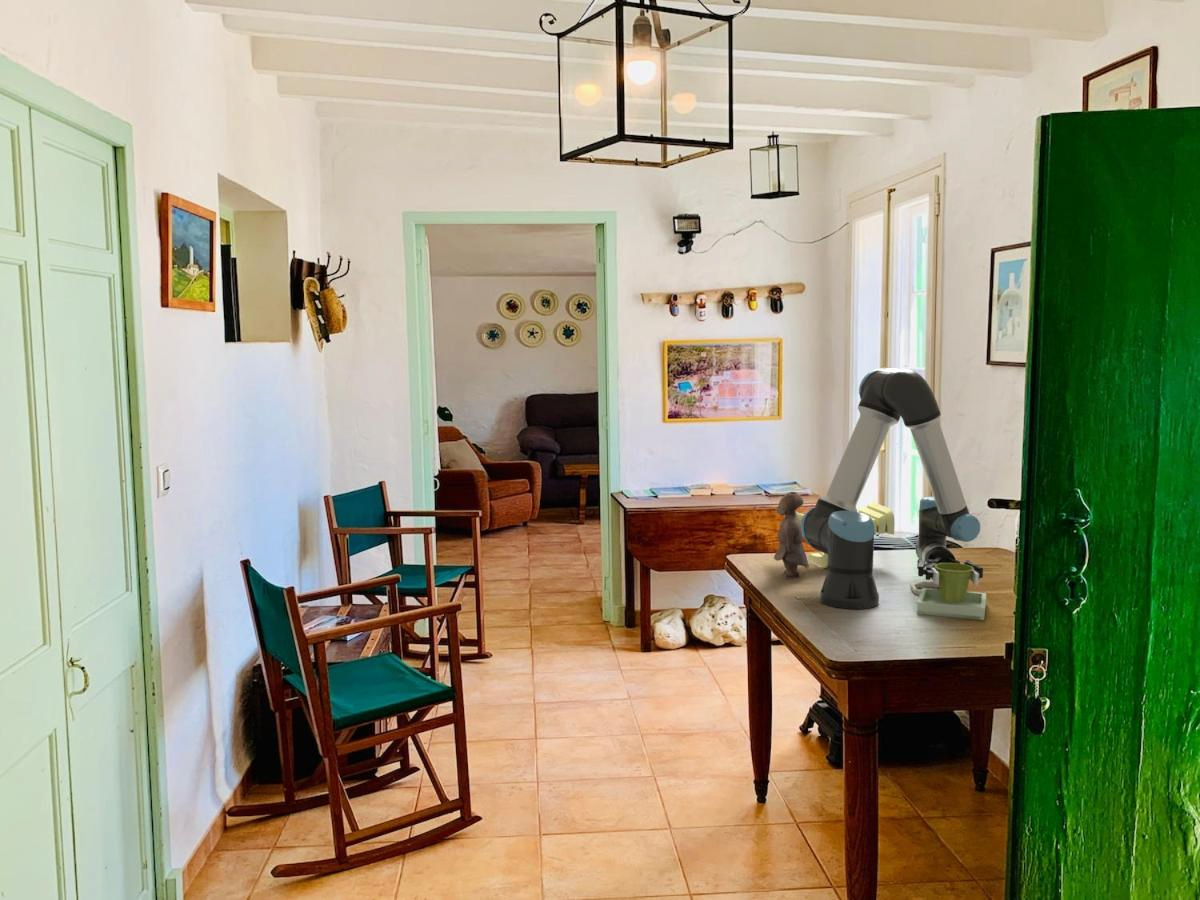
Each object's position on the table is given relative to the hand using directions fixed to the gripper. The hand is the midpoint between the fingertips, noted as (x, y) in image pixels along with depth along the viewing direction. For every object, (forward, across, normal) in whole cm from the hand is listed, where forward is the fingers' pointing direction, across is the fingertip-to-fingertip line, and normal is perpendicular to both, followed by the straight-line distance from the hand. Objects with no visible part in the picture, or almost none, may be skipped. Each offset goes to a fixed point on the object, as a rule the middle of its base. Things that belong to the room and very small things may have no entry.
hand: (957, 579), depth 261 cm
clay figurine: (-36, +39, -9) cm, 54 cm away
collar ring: (-23, 0, -9) cm, 24 cm away
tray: (-5, 0, -9) cm, 10 cm away
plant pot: (-5, 0, -7) cm, 8 cm away
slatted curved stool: (-54, +24, -9) cm, 60 cm away
